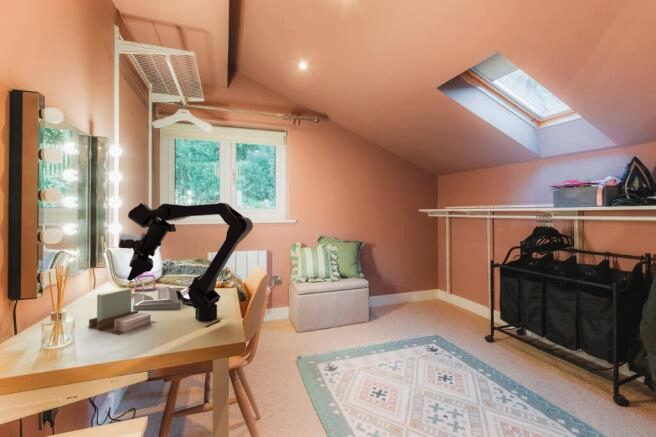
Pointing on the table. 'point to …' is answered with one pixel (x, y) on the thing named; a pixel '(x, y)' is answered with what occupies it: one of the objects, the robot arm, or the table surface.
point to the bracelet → (136, 281)
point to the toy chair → (146, 276)
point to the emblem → (162, 299)
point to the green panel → (113, 303)
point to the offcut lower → (132, 326)
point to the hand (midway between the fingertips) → (129, 273)
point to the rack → (111, 323)
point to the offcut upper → (132, 319)
